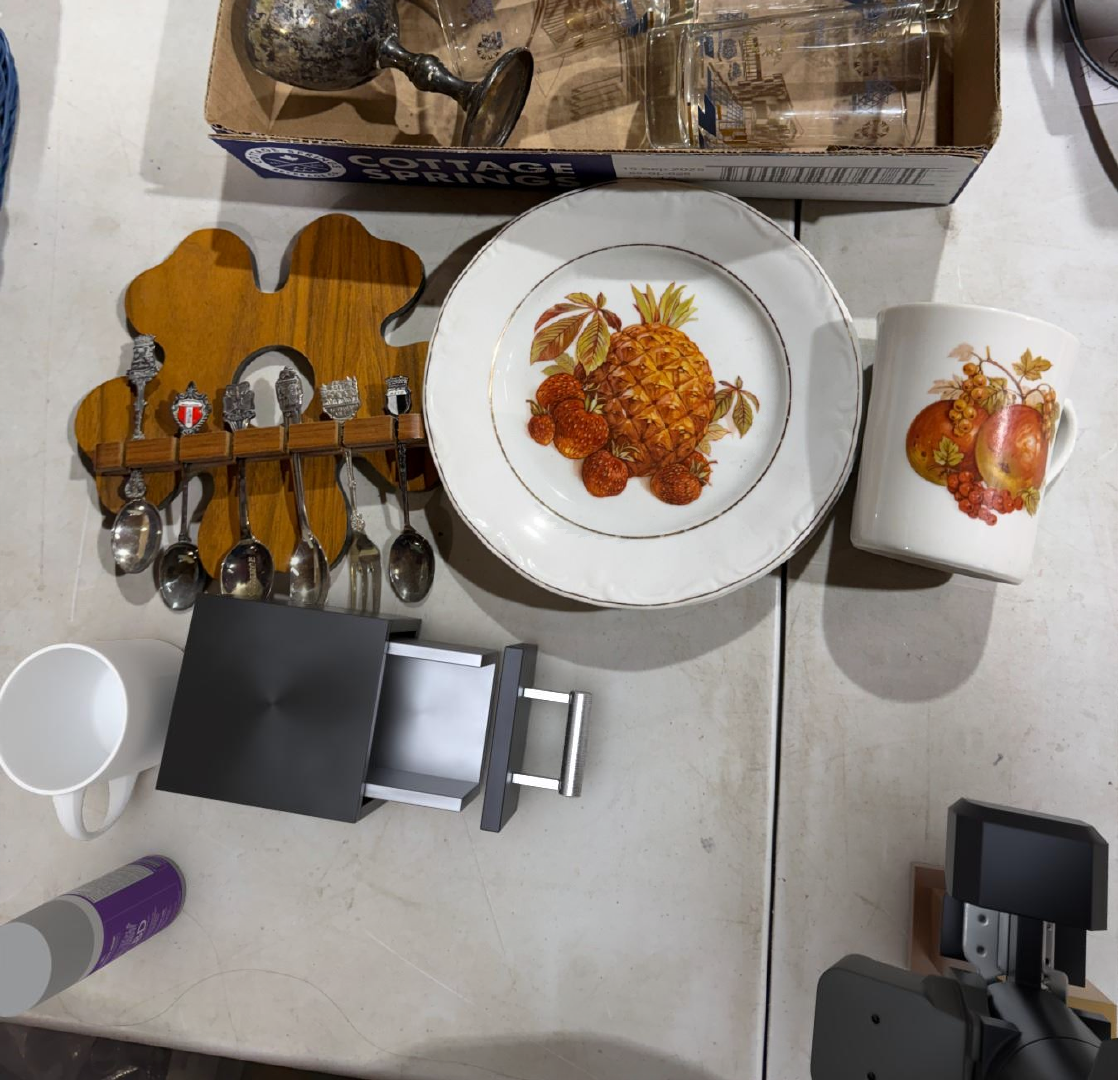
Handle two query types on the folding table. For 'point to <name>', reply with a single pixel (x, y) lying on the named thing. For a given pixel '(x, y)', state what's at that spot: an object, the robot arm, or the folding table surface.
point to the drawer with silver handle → (464, 729)
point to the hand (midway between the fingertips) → (971, 989)
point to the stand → (928, 922)
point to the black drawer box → (279, 704)
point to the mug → (87, 721)
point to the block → (1090, 1002)
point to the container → (85, 930)
